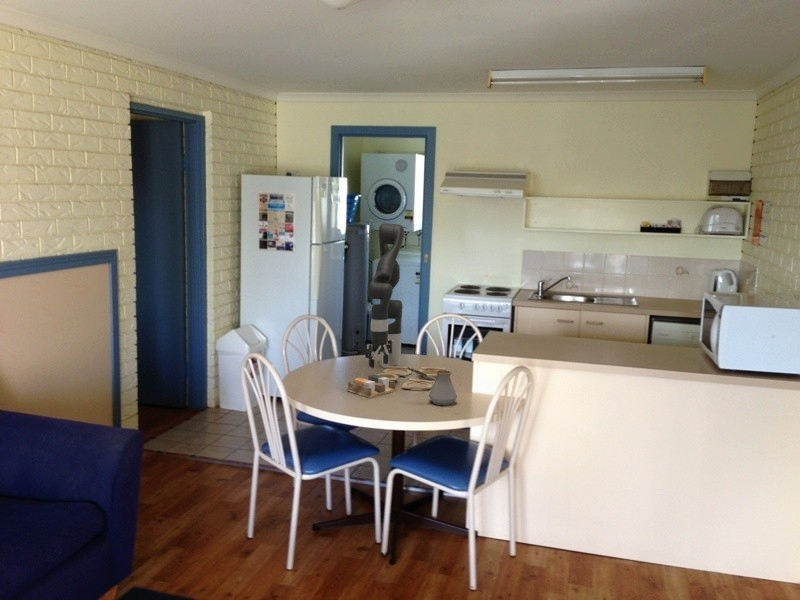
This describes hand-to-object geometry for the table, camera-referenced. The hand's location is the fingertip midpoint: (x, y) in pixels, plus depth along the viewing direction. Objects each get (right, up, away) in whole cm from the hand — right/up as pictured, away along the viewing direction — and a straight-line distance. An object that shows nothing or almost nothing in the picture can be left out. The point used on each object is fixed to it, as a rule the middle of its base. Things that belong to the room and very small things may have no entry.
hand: (378, 365), depth 299 cm
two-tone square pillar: (0, -9, +1) cm, 10 cm away
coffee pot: (+22, -14, -16) cm, 30 cm away
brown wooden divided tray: (-3, -11, -2) cm, 11 cm away
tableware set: (+13, -9, +19) cm, 24 cm away
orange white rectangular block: (-6, -10, -5) cm, 13 cm away
